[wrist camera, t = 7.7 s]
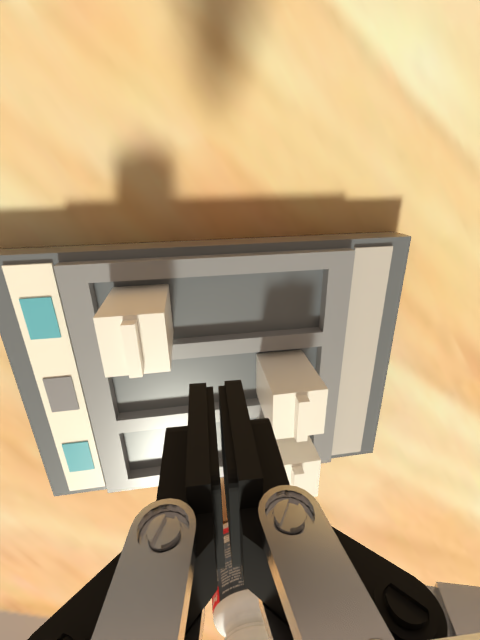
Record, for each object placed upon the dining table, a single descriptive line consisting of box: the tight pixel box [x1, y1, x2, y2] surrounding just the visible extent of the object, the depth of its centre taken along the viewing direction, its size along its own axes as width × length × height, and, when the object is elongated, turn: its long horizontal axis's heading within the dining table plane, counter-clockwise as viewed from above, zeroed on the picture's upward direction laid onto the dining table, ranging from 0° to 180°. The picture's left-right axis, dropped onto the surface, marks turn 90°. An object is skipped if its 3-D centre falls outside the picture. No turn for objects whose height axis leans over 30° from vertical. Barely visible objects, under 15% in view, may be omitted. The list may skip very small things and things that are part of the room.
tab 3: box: [256, 417, 321, 497], centre depth 22 cm, size 3×3×5 cm
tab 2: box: [256, 350, 328, 442], centre depth 20 cm, size 3×3×5 cm
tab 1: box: [93, 284, 174, 378], centre depth 17 cm, size 3×3×5 cm
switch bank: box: [0, 232, 411, 496], centre depth 22 cm, size 24×17×3 cm
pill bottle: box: [212, 522, 269, 640], centre depth 27 cm, size 5×5×9 cm
